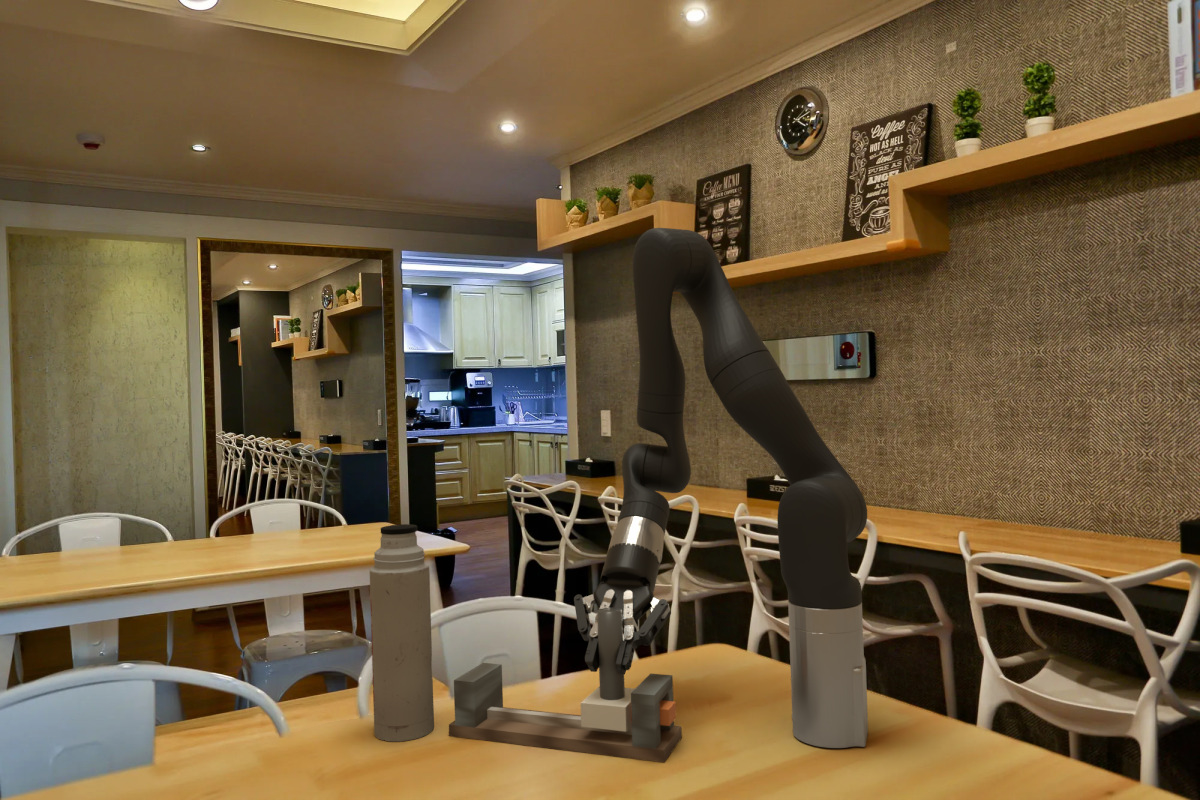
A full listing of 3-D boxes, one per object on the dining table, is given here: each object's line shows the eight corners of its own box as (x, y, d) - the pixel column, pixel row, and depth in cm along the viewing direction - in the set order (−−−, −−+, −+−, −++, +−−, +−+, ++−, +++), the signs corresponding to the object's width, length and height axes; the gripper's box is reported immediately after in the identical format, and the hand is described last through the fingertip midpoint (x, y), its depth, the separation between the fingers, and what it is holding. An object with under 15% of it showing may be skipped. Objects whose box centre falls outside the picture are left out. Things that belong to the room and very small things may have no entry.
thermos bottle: (363, 740, 113) (357, 529, 113) (390, 718, 120) (384, 521, 121) (419, 743, 111) (413, 529, 111) (443, 721, 119) (437, 521, 119)
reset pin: (676, 717, 108) (675, 701, 108) (669, 725, 105) (668, 709, 105) (638, 713, 109) (638, 698, 109) (631, 721, 107) (630, 705, 107)
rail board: (681, 737, 110) (679, 675, 110) (664, 762, 102) (662, 696, 102) (478, 715, 121) (476, 658, 121) (448, 735, 113) (447, 675, 113)
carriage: (643, 712, 111) (640, 605, 111) (626, 731, 105) (622, 618, 105) (601, 707, 113) (597, 603, 114) (581, 726, 107) (577, 615, 107)
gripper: (579, 539, 119) (545, 651, 107) (676, 542, 114) (651, 659, 102) (594, 570, 124) (563, 680, 112) (688, 574, 119) (665, 689, 107)
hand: (606, 669), depth 107 cm, fingers closed on carriage, 3 cm apart
